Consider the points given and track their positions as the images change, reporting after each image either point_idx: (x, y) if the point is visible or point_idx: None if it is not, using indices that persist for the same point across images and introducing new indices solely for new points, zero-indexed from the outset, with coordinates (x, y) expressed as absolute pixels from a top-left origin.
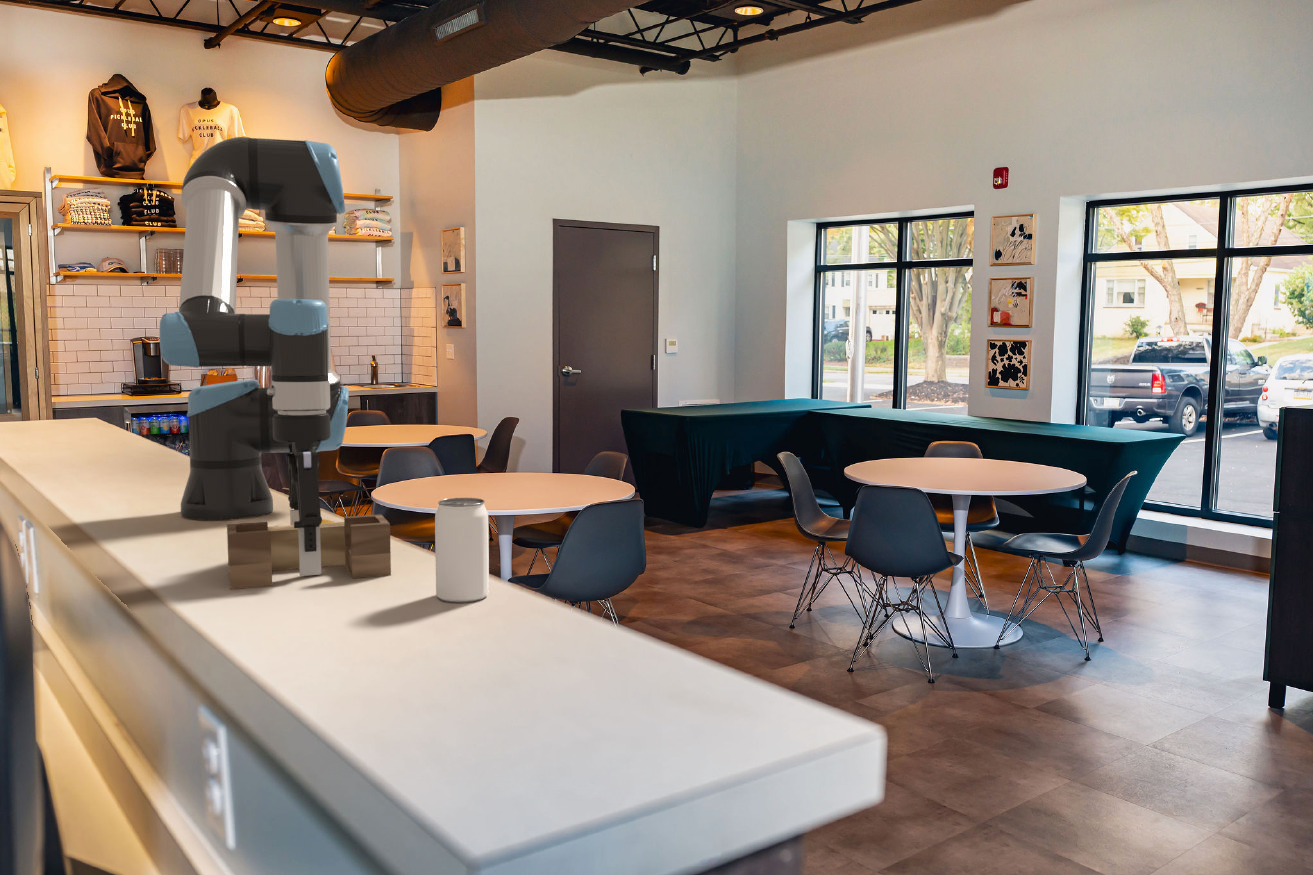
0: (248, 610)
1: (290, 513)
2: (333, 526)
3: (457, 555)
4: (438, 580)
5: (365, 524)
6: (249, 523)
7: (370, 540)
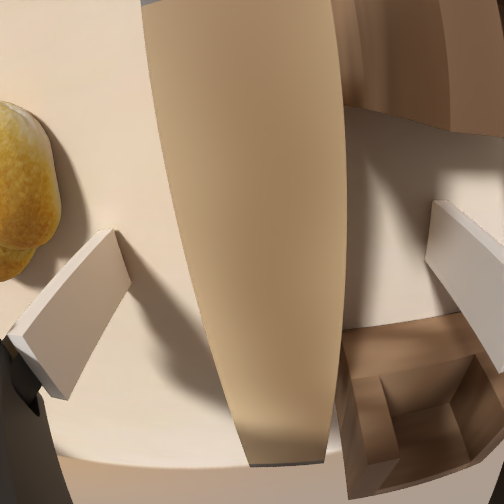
0: None
1: (71, 391)
2: (335, 190)
3: None
4: None
5: None
6: (369, 481)
7: None
